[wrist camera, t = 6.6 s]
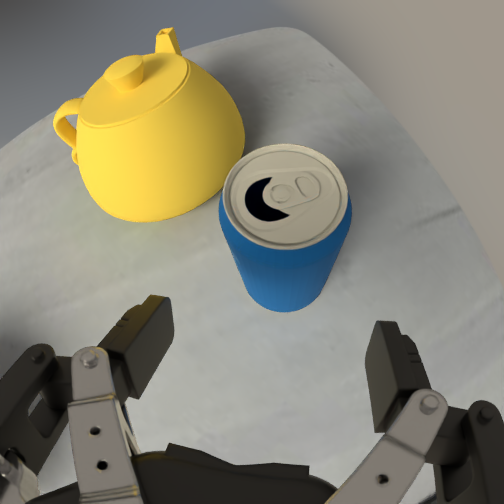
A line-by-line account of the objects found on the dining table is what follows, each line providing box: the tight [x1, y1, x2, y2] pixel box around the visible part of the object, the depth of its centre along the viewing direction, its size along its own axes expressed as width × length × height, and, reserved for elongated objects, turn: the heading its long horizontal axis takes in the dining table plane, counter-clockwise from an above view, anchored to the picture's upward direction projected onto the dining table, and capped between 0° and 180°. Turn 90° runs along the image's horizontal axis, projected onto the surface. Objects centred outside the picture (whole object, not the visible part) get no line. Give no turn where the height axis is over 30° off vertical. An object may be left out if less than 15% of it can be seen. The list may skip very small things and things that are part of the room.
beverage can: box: [219, 144, 352, 312], centre depth 19 cm, size 6×6×12 cm
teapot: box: [53, 27, 245, 222], centre depth 25 cm, size 20×19×13 cm
